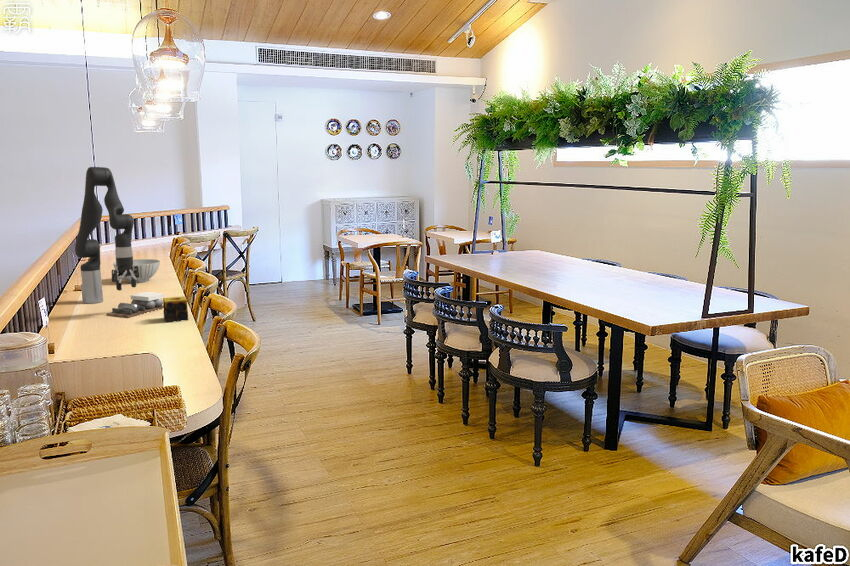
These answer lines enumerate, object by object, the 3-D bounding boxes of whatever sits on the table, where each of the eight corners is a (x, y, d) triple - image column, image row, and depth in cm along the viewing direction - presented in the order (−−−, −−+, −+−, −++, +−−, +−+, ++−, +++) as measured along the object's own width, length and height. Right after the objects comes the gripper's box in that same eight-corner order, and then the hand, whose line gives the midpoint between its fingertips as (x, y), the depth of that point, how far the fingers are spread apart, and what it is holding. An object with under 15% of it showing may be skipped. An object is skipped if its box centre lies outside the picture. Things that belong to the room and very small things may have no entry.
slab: (130, 299, 326) (130, 295, 326) (146, 295, 335) (146, 291, 335) (148, 301, 322) (148, 297, 321) (164, 297, 331) (163, 293, 330)
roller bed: (106, 315, 315) (105, 305, 314) (145, 305, 337) (145, 296, 336) (128, 318, 310) (127, 307, 309) (166, 307, 331) (165, 298, 330)
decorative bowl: (150, 285, 394) (148, 265, 392) (106, 285, 395) (104, 265, 393) (168, 277, 421) (166, 259, 419) (127, 277, 421) (125, 259, 419)
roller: (118, 311, 319) (117, 303, 318) (124, 310, 322) (124, 302, 322) (133, 313, 315) (132, 305, 314) (139, 311, 318) (139, 303, 318)
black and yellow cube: (165, 323, 300) (164, 301, 298) (163, 318, 309) (161, 297, 307) (188, 320, 305) (187, 299, 303) (185, 316, 314) (184, 295, 312)
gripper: (130, 253, 321) (132, 285, 324) (106, 257, 309) (108, 290, 312) (141, 254, 318) (143, 286, 322) (117, 258, 306) (120, 292, 309)
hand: (126, 288), depth 317 cm, fingers open, 8 cm apart
